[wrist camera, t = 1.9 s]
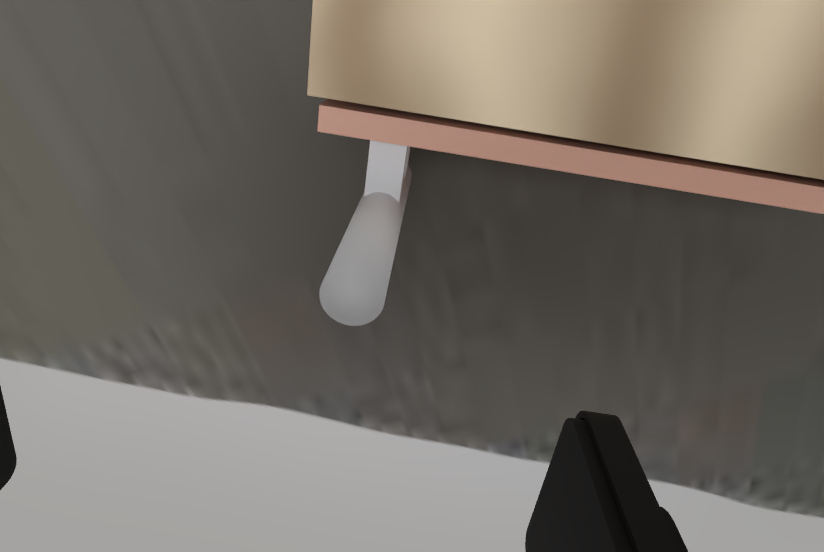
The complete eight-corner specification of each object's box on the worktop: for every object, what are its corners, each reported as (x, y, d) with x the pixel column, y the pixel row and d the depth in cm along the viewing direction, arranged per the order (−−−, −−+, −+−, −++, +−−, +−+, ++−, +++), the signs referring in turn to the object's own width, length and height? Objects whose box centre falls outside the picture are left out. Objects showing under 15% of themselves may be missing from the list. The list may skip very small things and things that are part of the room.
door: (796, 143, 25) (1180, 288, 12) (757, 229, 27) (1050, 436, 14) (362, 71, 25) (266, 139, 12) (352, 163, 27) (261, 311, 14)
